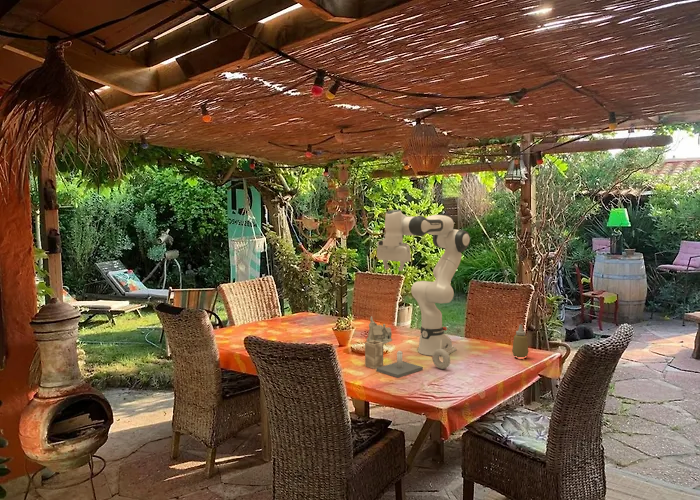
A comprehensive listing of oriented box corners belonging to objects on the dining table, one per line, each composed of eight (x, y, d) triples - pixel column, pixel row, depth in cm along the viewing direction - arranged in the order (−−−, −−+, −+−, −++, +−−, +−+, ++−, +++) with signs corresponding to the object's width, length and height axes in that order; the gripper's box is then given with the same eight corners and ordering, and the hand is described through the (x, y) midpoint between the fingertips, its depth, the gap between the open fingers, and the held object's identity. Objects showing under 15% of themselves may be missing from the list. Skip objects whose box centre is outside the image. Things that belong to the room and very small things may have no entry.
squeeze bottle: (527, 356, 272) (528, 323, 271) (528, 361, 265) (529, 326, 263) (511, 355, 275) (512, 322, 273) (512, 359, 267) (513, 325, 266)
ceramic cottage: (367, 344, 298) (369, 319, 298) (365, 338, 315) (367, 314, 314) (394, 346, 299) (395, 320, 299) (390, 340, 315) (392, 316, 315)
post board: (401, 363, 261) (401, 344, 260) (422, 369, 250) (422, 350, 250) (376, 371, 249) (376, 351, 248) (397, 377, 238) (397, 357, 238)
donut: (430, 367, 255) (431, 347, 254) (435, 365, 257) (435, 346, 256) (447, 371, 247) (447, 351, 246) (451, 370, 250) (451, 350, 249)
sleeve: (374, 363, 261) (374, 340, 260) (383, 366, 256) (383, 342, 256) (365, 366, 257) (365, 342, 256) (374, 368, 252) (374, 344, 251)
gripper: (413, 242, 251) (413, 271, 252) (383, 241, 266) (383, 267, 267) (405, 243, 247) (405, 272, 248) (374, 241, 262) (375, 268, 263)
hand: (393, 269), depth 258 cm, fingers open, 8 cm apart
